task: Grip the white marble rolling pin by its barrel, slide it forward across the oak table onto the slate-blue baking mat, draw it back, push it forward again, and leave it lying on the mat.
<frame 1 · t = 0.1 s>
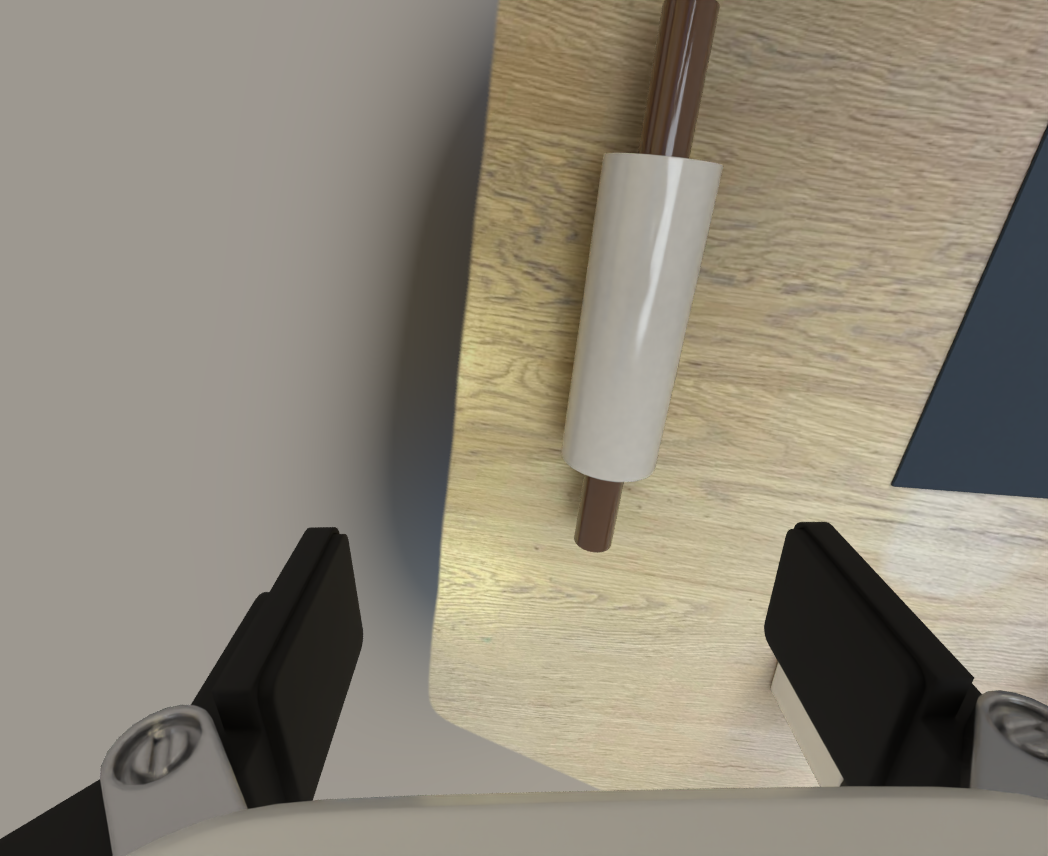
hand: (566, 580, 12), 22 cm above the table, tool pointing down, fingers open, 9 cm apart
jar: (821, 665, 44), on the table
rolling pin: (622, 314, 31), on the table
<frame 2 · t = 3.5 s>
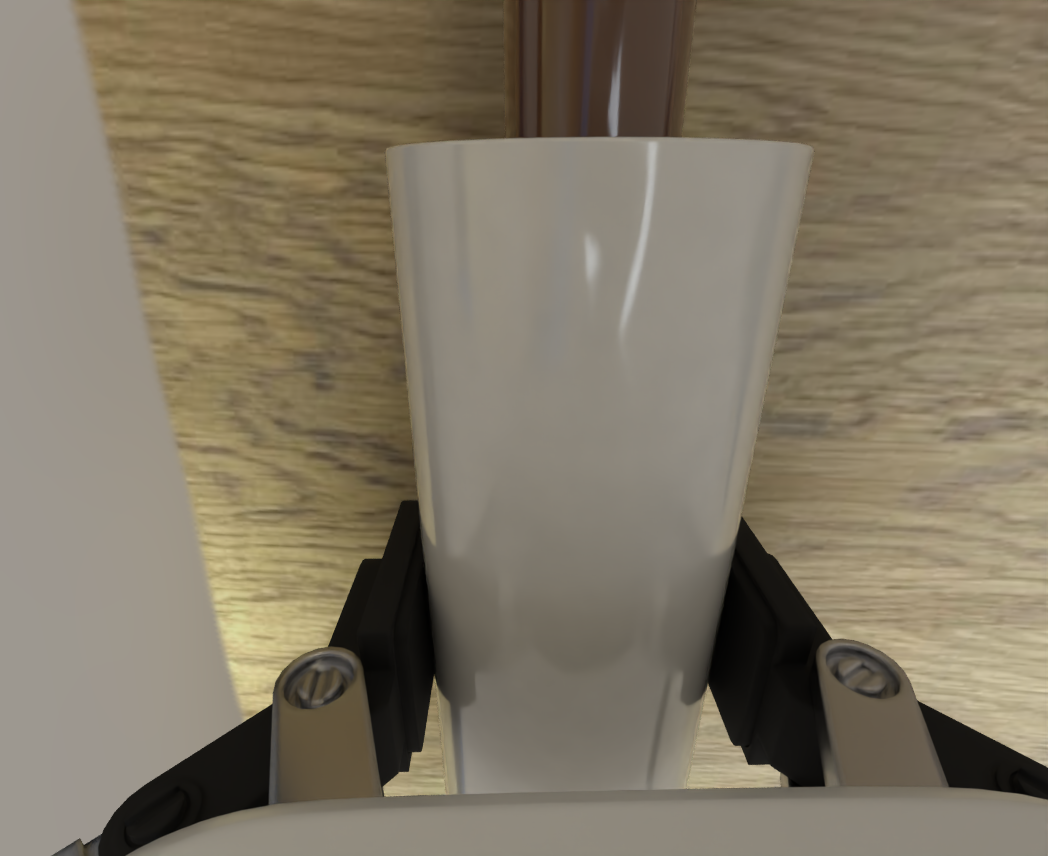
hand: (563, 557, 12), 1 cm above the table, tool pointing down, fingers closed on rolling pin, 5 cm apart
rolling pin: (563, 518, 13), on the table, touching gripper
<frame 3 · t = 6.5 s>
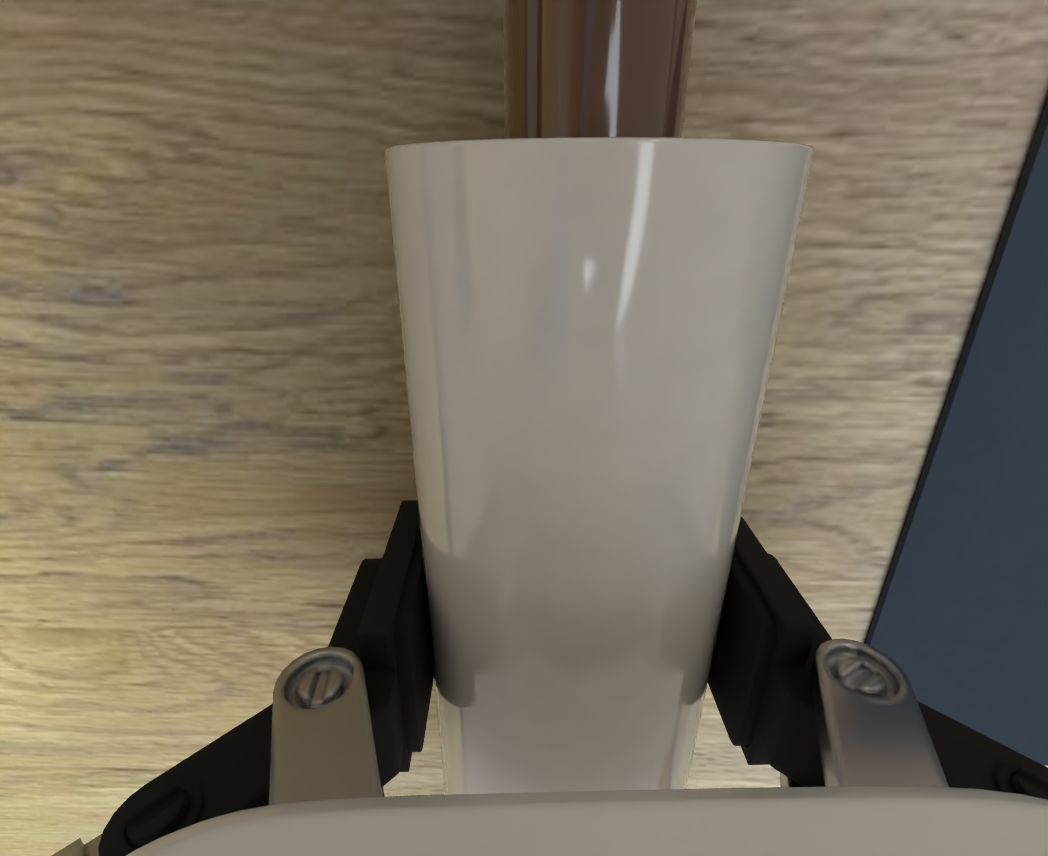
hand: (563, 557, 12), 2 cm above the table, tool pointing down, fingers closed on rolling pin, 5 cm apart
rolling pin: (562, 518, 13), on the table, touching gripper
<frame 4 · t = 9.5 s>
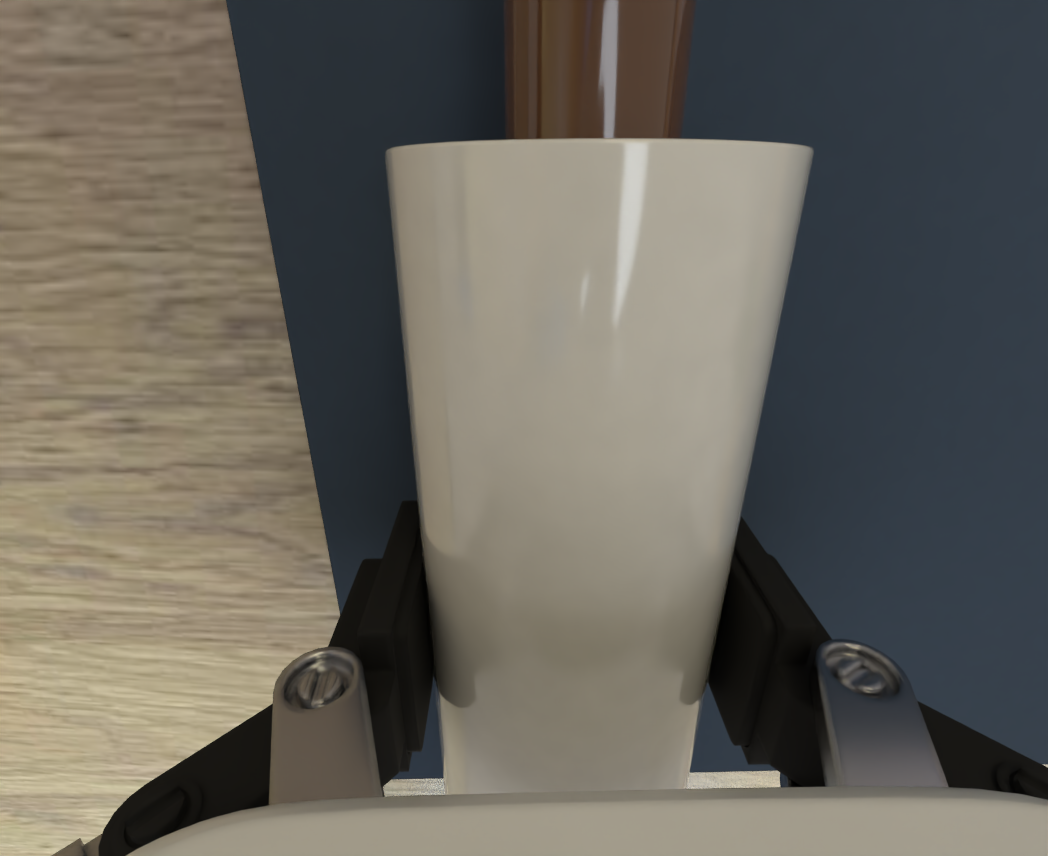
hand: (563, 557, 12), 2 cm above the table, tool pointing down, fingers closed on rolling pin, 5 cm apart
baking mat: (884, 473, 13), on the table
rolling pin: (562, 519, 13), resting on baking mat, touching gripper
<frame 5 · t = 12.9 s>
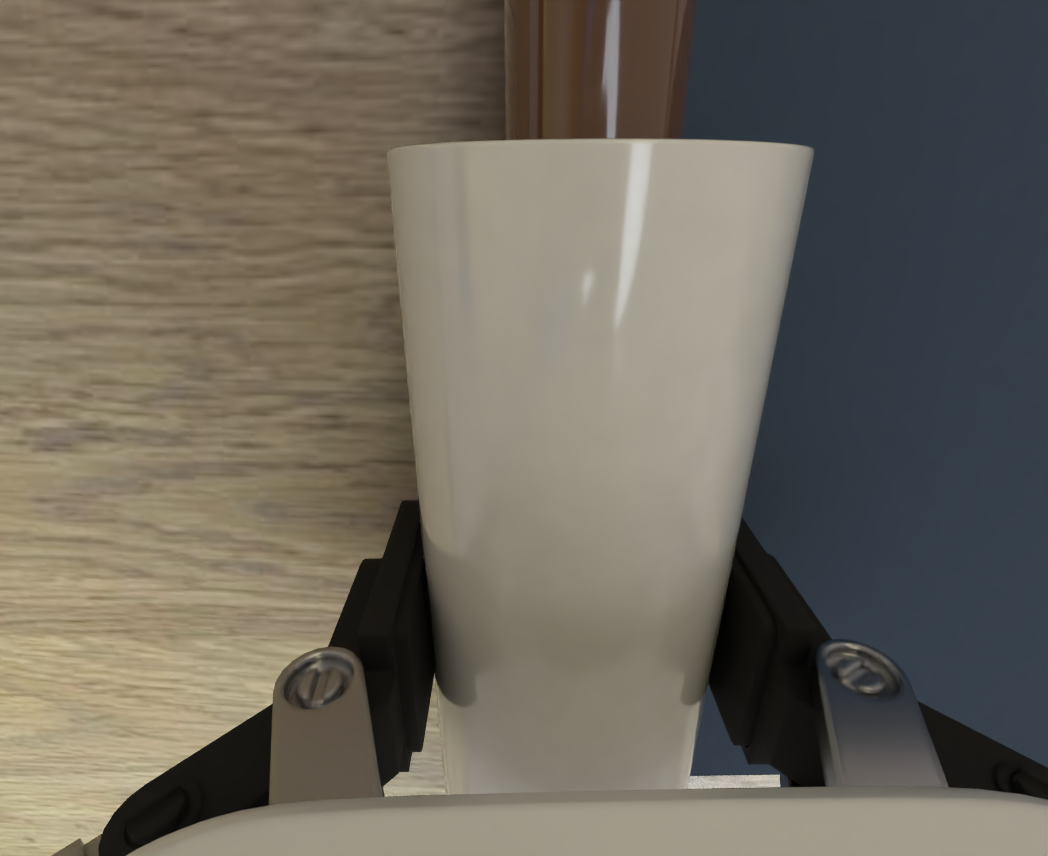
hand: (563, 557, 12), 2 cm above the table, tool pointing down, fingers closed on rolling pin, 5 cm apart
rolling pin: (563, 519, 13), on the table, touching gripper
when the fingers open (1 cm above the table, at t = 15.8 s): rolling pin stays where it is, resting on baking mat.
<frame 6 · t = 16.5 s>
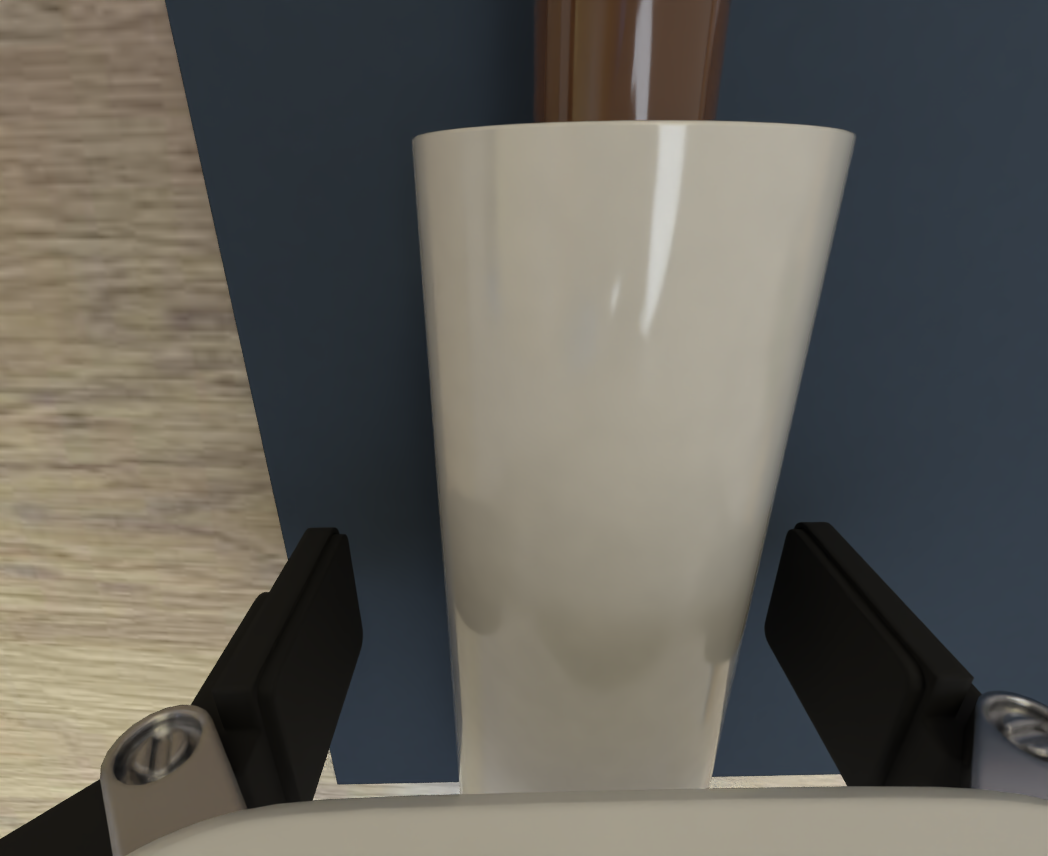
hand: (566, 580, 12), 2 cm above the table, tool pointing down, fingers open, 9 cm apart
baking mat: (858, 473, 13), on the table
rolling pin: (562, 519, 13), resting on baking mat, tilted 6°
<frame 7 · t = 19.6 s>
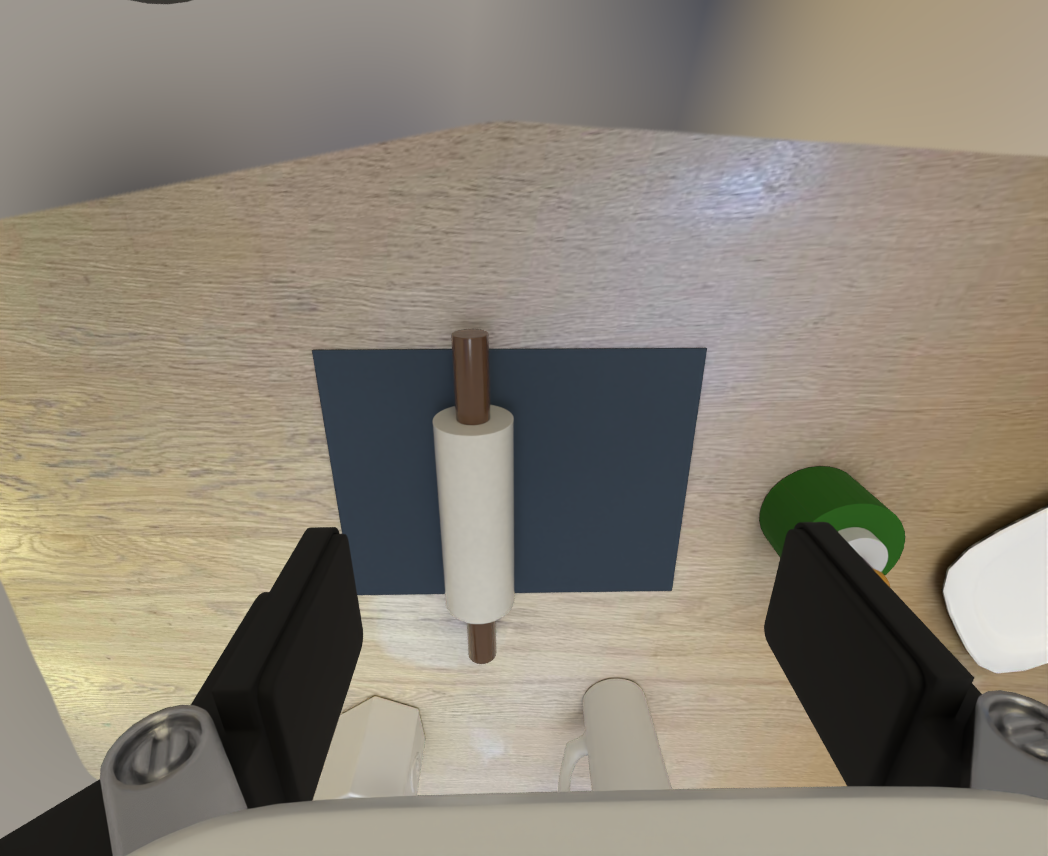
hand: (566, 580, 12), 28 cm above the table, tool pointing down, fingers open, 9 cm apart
candle: (808, 508, 45), on the table
baking mat: (512, 482, 43), on the table
jar: (384, 724, 55), on the table
mug: (598, 703, 54), on the table
rolling pin: (439, 517, 41), point 3 cm above the table, tilted 92°, touching baking mat
plate: (1044, 572, 48), on the table
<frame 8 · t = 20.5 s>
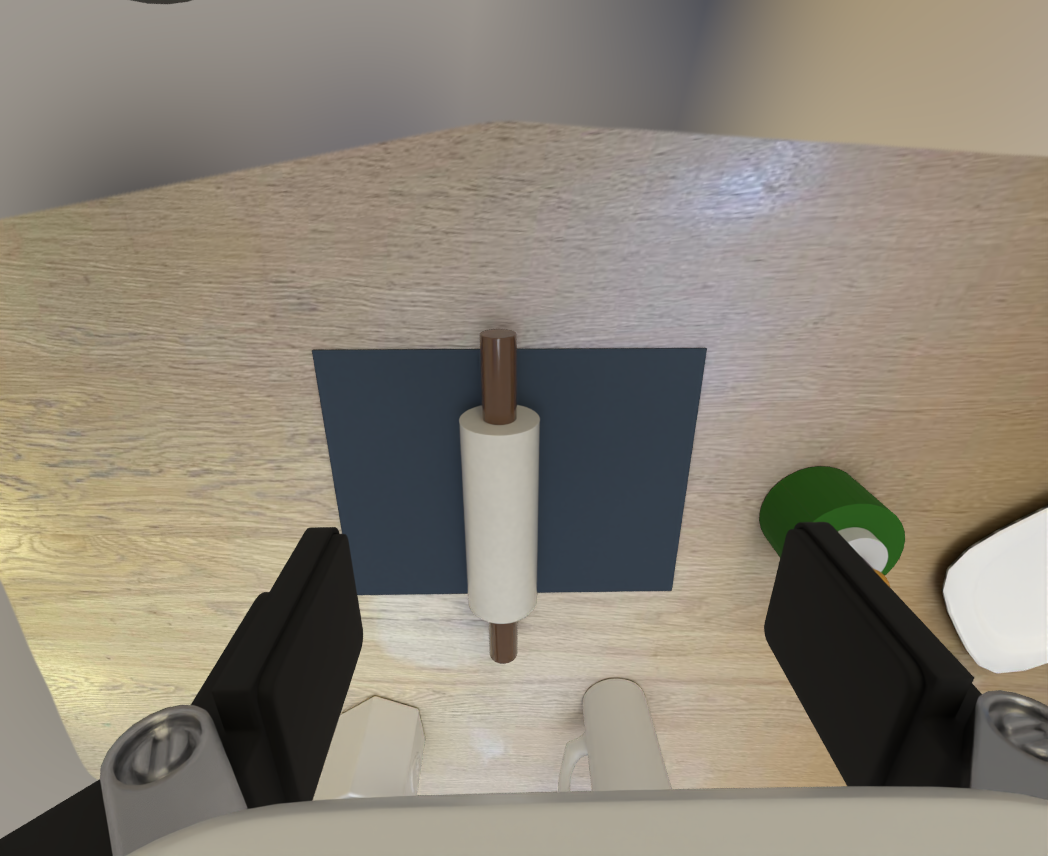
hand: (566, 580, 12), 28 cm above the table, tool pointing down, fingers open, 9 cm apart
candle: (808, 508, 45), on the table
baking mat: (512, 482, 43), on the table
jar: (384, 724, 55), on the table
mug: (598, 703, 54), on the table
rolling pin: (470, 529, 39), point 5 cm above the table, tilted 129°, touching baking mat
plate: (1044, 572, 48), on the table
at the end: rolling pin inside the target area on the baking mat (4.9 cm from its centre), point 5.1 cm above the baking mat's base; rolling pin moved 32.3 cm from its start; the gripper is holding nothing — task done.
